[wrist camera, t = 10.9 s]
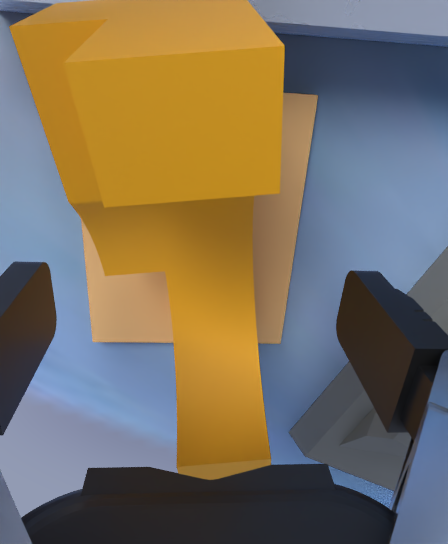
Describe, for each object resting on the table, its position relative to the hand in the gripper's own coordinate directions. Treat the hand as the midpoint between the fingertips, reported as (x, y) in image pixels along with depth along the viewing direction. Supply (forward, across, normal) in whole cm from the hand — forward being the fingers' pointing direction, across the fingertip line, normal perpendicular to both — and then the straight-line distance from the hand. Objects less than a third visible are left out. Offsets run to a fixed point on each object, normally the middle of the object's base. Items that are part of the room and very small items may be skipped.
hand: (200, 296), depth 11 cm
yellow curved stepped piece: (+4, +1, -1) cm, 4 cm away
